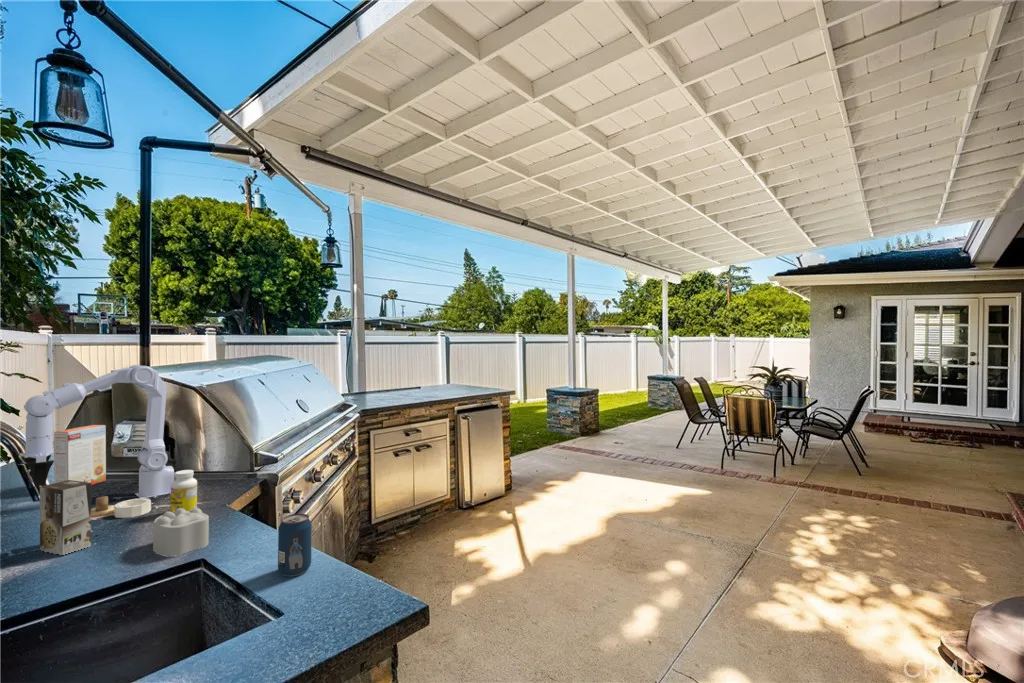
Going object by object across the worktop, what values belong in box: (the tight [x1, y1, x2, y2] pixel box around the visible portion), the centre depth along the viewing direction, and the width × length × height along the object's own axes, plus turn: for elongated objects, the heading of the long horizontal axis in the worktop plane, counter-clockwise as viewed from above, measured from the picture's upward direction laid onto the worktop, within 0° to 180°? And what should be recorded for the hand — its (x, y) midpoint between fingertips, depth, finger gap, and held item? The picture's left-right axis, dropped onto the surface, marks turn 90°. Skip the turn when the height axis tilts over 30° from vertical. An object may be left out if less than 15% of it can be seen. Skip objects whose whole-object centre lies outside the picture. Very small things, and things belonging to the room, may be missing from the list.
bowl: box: [113, 497, 152, 519], centre depth 145 cm, size 8×8×4 cm
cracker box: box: [53, 424, 107, 486], centre depth 172 cm, size 14×6×21 cm, turn 174°
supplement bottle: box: [169, 469, 198, 512], centre depth 145 cm, size 7×7×13 cm
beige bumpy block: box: [152, 507, 210, 556], centre depth 123 cm, size 10×13×9 cm
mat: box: [91, 513, 114, 521], centre depth 145 cm, size 10×10×1 cm
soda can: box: [277, 513, 313, 577], centre depth 110 cm, size 7×7×12 cm
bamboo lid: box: [91, 495, 115, 517], centre depth 145 cm, size 8×8×4 cm
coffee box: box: [39, 480, 93, 556], centre depth 121 cm, size 9×6×16 cm
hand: (38, 482), depth 142 cm, fingers open, 7 cm apart
